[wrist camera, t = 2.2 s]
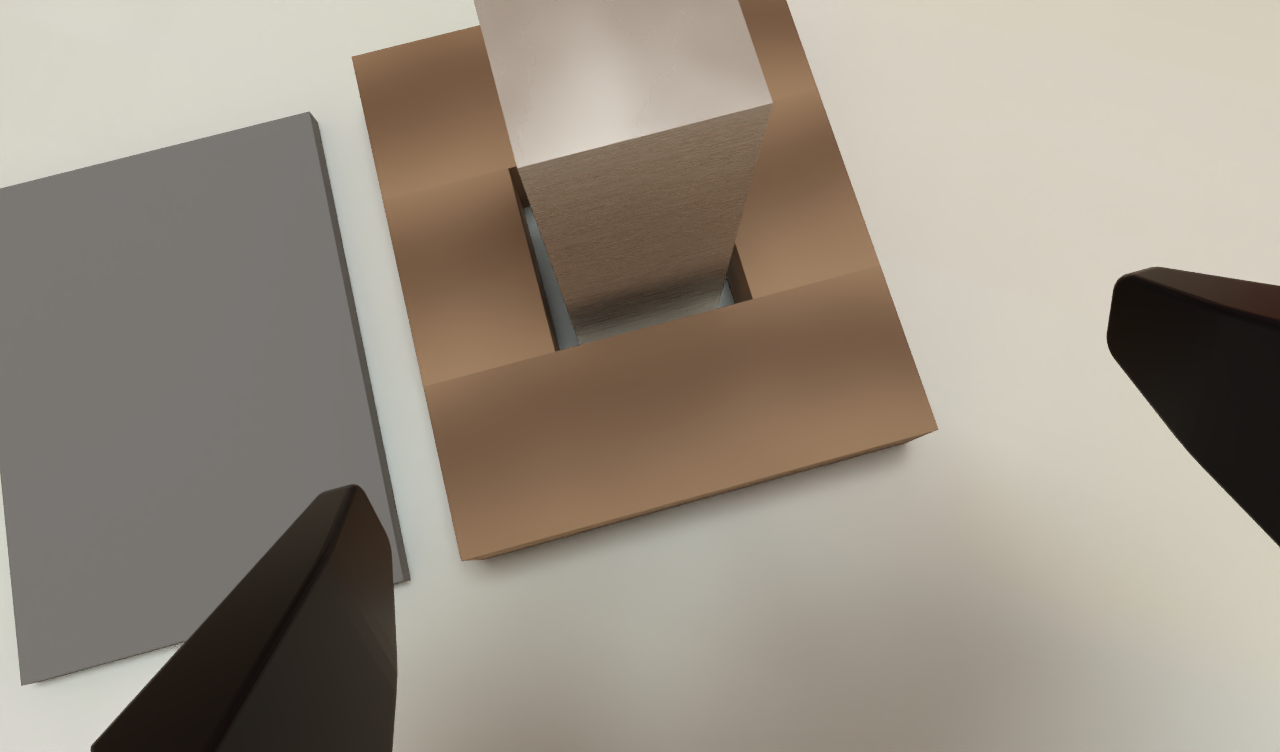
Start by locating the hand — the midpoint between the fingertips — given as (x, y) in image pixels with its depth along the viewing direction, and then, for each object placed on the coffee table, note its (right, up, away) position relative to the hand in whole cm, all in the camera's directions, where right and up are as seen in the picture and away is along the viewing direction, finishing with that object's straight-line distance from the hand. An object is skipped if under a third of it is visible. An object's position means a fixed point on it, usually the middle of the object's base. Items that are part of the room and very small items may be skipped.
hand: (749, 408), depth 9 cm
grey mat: (-14, 0, +13) cm, 19 cm away
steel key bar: (-2, +4, +14) cm, 14 cm away
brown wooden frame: (-2, +4, +14) cm, 14 cm away
